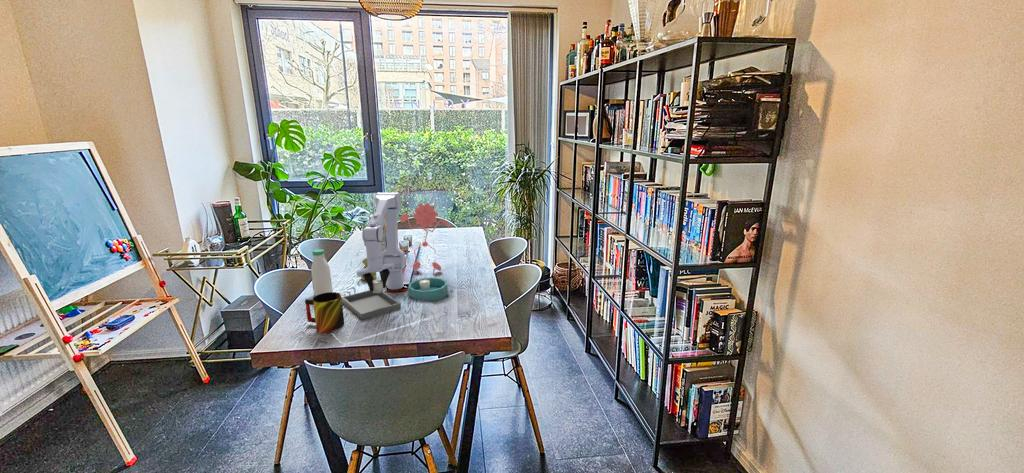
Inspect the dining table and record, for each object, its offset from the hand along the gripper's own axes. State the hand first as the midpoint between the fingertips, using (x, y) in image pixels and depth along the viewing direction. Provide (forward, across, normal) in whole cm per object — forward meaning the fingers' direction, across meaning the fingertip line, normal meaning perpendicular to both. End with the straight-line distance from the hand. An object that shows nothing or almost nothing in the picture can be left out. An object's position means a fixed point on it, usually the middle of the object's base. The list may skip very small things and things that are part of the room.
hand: (377, 289), depth 174 cm
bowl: (+9, +24, +2) cm, 25 cm away
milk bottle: (+9, -12, +33) cm, 36 cm away
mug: (+9, -22, -2) cm, 24 cm away
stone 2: (+8, +24, +5) cm, 25 cm away
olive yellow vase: (+9, +11, +39) cm, 42 cm away
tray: (+9, -2, +5) cm, 10 cm away
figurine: (+9, +39, +30) cm, 50 cm away
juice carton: (+9, +31, +70) cm, 77 cm away
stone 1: (+1, 0, 0) cm, 1 cm away
